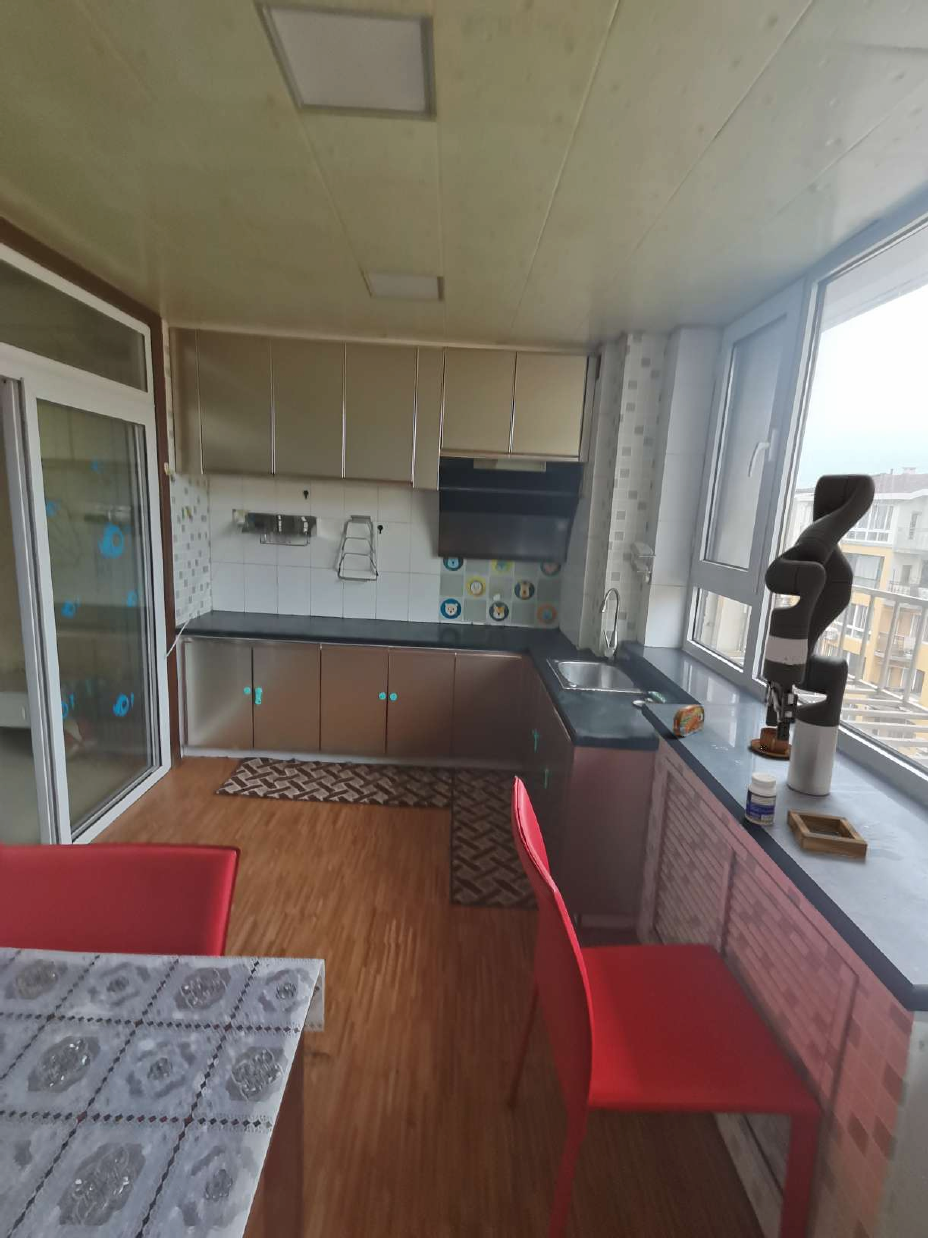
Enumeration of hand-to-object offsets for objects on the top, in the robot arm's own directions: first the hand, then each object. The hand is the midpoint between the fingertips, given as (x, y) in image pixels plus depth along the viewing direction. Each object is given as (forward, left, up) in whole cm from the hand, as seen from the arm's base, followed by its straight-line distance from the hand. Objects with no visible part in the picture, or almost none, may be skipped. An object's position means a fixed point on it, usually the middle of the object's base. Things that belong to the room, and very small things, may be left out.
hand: (776, 732), depth 124 cm
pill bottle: (-1, -1, -21) cm, 21 cm away
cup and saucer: (-45, +13, -21) cm, 51 cm away
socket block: (+4, +10, -20) cm, 23 cm away
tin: (-54, -9, -21) cm, 59 cm away
